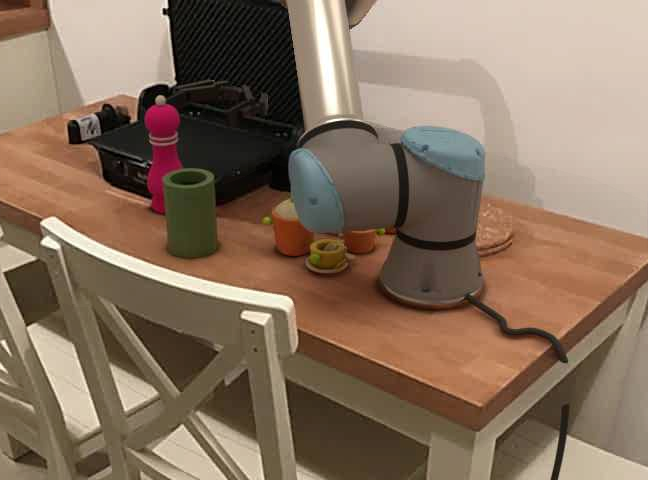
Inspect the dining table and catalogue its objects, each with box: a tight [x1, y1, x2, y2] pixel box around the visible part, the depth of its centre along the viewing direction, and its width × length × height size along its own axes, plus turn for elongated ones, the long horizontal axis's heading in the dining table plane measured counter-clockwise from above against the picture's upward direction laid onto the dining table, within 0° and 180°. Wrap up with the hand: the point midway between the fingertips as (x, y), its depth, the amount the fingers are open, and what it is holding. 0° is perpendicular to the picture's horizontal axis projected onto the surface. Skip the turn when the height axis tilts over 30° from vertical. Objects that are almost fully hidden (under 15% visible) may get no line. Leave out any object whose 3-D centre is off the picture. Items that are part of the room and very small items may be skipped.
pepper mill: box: [144, 94, 184, 214], centre depth 160 cm, size 7×7×20 cm
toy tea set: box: [262, 194, 396, 274], centre depth 149 cm, size 26×16×10 cm, turn 137°
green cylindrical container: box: [162, 167, 219, 259], centre depth 148 cm, size 8×8×12 cm
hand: (194, 113), depth 164 cm, fingers open, 13 cm apart
